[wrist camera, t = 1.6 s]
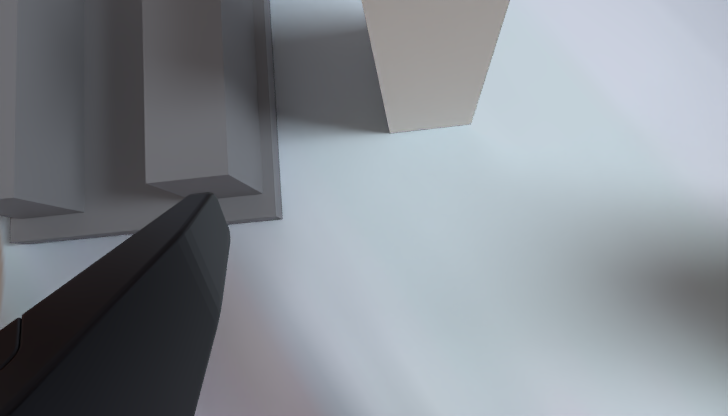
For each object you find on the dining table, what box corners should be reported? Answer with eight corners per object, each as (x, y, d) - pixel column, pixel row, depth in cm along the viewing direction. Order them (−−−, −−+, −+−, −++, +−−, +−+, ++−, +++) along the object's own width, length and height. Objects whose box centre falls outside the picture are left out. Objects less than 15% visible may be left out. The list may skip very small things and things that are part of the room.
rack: (282, 219, 23) (243, 201, 18) (27, 244, 24) (-76, 234, 19) (265, -72, 25) (226, -160, 20) (30, -36, 26) (-61, -111, 21)
